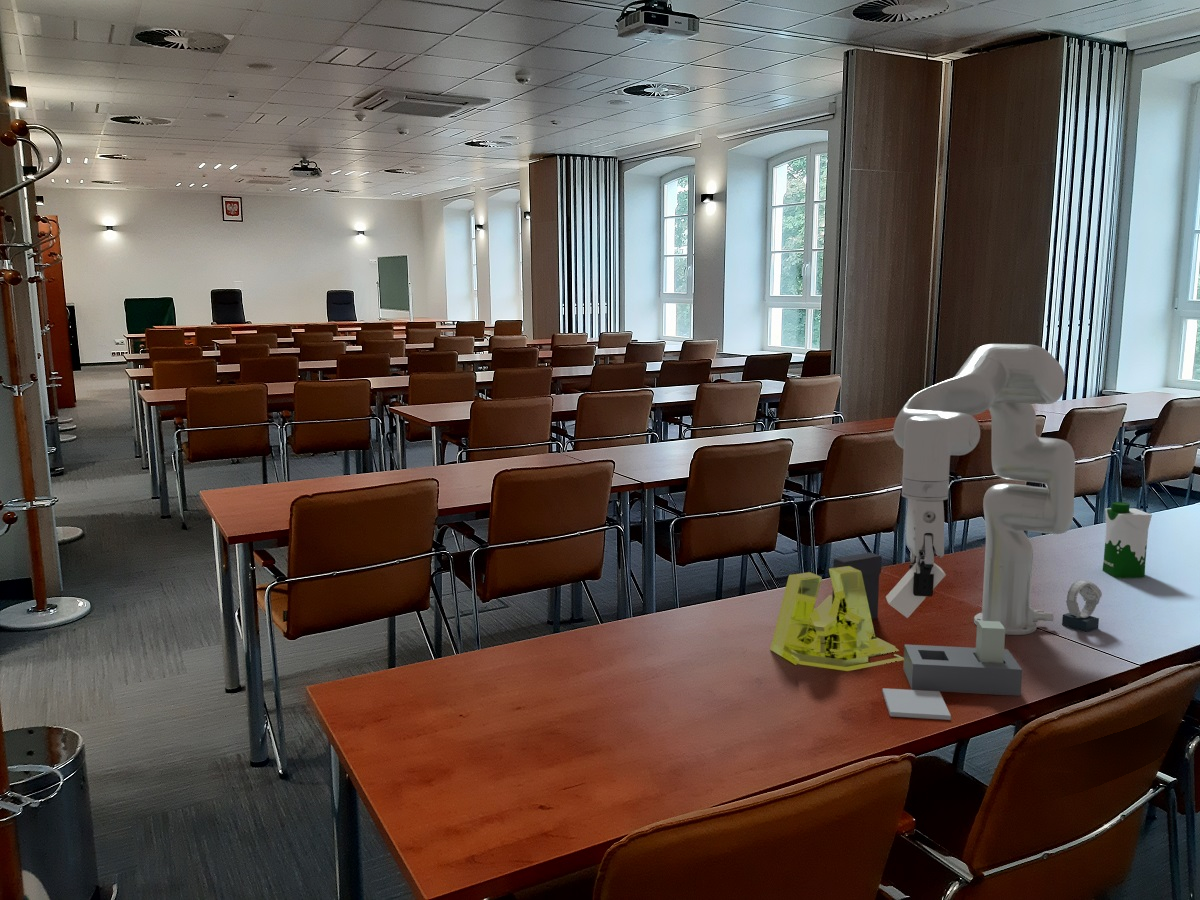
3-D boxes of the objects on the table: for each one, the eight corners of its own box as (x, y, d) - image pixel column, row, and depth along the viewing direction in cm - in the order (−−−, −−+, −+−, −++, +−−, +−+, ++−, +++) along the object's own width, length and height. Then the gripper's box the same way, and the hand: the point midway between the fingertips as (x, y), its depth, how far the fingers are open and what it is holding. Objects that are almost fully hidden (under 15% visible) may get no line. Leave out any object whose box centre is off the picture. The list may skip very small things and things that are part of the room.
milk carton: (1096, 574, 239) (1102, 499, 236) (1131, 574, 239) (1137, 499, 236) (1114, 584, 230) (1120, 507, 227) (1150, 584, 230) (1157, 506, 227)
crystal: (764, 646, 192) (765, 574, 190) (861, 629, 201) (863, 560, 199) (817, 678, 175) (819, 600, 173) (920, 658, 184) (923, 583, 182)
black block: (866, 614, 211) (868, 551, 208) (879, 619, 207) (882, 555, 204) (829, 622, 206) (830, 557, 203) (842, 627, 202) (844, 562, 200)
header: (1006, 674, 176) (1007, 649, 175) (1020, 695, 166) (1022, 669, 165) (903, 668, 179) (904, 644, 178) (911, 689, 169) (912, 664, 168)
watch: (1103, 630, 198) (1107, 581, 197) (1080, 637, 194) (1084, 587, 193) (1079, 623, 203) (1082, 575, 201) (1056, 629, 199) (1059, 580, 198)
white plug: (903, 610, 162) (941, 568, 160) (907, 618, 158) (945, 574, 156) (885, 596, 162) (922, 554, 160) (888, 604, 158) (926, 560, 156)
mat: (939, 695, 166) (939, 691, 166) (950, 719, 157) (950, 715, 157) (882, 692, 168) (882, 688, 168) (890, 716, 158) (890, 711, 158)
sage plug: (996, 672, 173) (999, 621, 171) (1002, 680, 169) (1005, 628, 168) (974, 670, 174) (977, 620, 172) (979, 679, 170) (982, 627, 168)
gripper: (958, 498, 148) (953, 607, 150) (938, 479, 164) (933, 578, 167) (910, 497, 149) (905, 605, 152) (895, 478, 165) (891, 576, 168)
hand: (920, 590), depth 159 cm, fingers closed on white plug, 4 cm apart
